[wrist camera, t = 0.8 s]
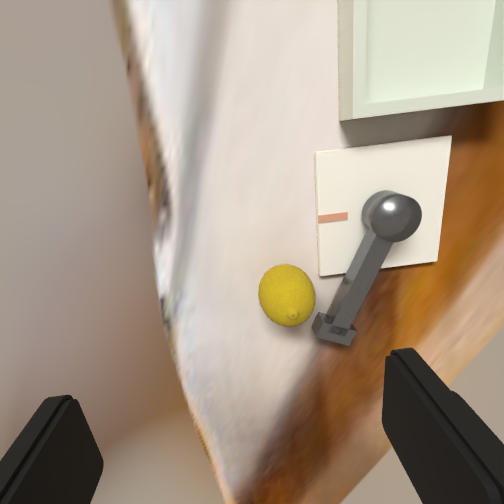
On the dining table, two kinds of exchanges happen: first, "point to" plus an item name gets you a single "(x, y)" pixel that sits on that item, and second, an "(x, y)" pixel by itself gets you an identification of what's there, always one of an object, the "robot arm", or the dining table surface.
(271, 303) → the lemon
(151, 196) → the dining table surface
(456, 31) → the tray
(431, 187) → the crank board
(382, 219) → the crank
